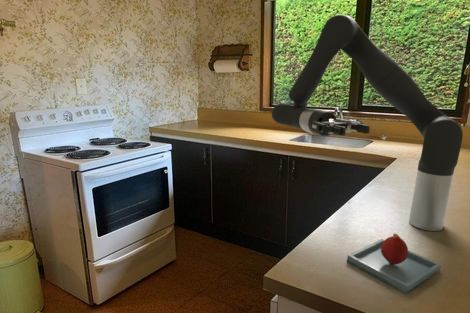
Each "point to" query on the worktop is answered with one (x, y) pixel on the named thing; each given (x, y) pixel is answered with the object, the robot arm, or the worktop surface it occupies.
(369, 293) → the worktop surface
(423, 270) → the dish
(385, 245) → the onion
